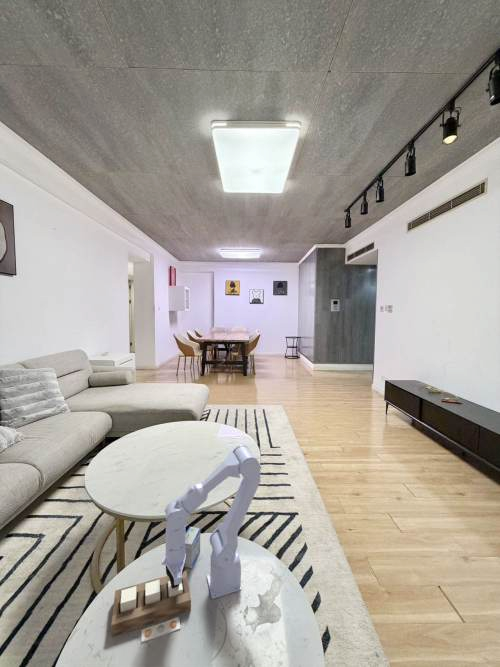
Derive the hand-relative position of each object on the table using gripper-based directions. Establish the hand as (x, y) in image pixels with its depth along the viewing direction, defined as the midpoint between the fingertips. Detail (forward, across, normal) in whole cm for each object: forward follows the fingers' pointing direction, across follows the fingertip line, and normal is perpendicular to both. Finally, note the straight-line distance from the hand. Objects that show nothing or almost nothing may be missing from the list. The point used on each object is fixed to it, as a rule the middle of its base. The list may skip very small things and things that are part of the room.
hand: (175, 585), depth 86 cm
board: (+4, 0, -6) cm, 8 cm away
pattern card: (+4, +8, -4) cm, 10 cm away
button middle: (+2, 0, -6) cm, 7 cm away
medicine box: (+5, -13, +6) cm, 15 cm away
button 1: (+2, 0, -13) cm, 13 cm away
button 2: (+3, 0, 0) cm, 3 cm away
